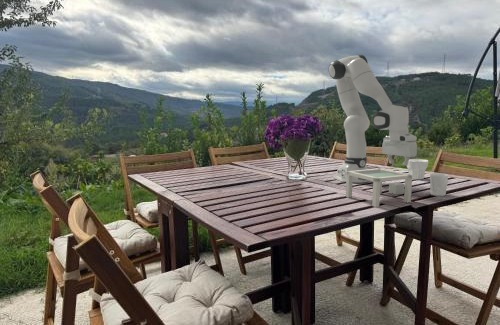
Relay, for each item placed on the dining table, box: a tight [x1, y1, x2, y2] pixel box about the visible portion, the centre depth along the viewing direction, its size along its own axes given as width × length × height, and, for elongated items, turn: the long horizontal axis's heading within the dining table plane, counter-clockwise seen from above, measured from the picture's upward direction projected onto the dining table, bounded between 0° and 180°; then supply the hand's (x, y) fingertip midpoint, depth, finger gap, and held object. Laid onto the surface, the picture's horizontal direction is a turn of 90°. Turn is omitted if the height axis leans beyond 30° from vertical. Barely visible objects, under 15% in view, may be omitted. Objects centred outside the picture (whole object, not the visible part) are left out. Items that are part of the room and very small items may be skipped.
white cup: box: [429, 172, 449, 197], centre depth 185 cm, size 8×8×10 cm
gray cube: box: [388, 181, 405, 196], centre depth 189 cm, size 5×5×5 cm
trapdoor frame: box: [345, 168, 413, 208], centre depth 175 cm, size 21×20×13 cm
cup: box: [406, 158, 429, 180], centre depth 227 cm, size 12×12×11 cm
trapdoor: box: [358, 171, 397, 181], centre depth 175 cm, size 14×14×3 cm
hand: (398, 164), depth 187 cm, fingers open, 8 cm apart
